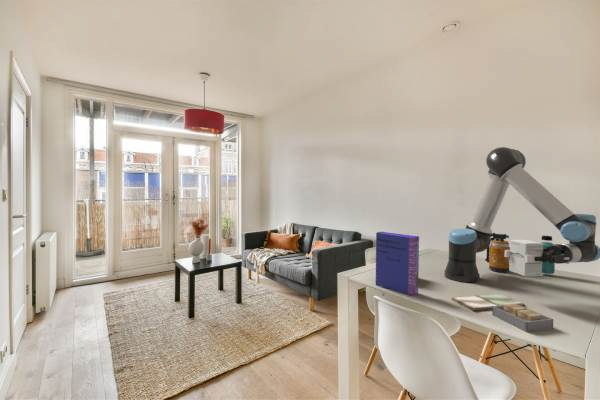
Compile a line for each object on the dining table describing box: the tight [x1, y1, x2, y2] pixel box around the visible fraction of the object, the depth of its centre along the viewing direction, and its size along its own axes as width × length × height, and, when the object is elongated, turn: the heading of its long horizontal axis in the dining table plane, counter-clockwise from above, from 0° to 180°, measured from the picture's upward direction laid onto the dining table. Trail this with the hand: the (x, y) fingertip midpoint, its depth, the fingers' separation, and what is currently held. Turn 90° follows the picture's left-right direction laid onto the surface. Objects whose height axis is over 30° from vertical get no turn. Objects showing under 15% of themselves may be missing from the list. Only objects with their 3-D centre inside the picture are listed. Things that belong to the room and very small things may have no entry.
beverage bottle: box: [540, 235, 556, 275], centre depth 144 cm, size 6×7×20 cm
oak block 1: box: [504, 304, 526, 317], centre depth 95 cm, size 4×4×4 cm
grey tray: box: [491, 304, 554, 333], centre depth 93 cm, size 12×10×4 cm
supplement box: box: [509, 239, 543, 277], centre depth 111 cm, size 7×7×13 cm
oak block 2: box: [518, 309, 541, 321], centre depth 91 cm, size 4×4×4 cm
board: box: [451, 293, 526, 313], centre depth 108 cm, size 11×22×2 cm, turn 102°
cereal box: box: [375, 231, 420, 297], centre depth 124 cm, size 17×5×24 cm, turn 42°
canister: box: [484, 232, 510, 273], centre depth 153 cm, size 9×11×20 cm
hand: (515, 256), depth 110 cm, fingers closed on supplement box, 8 cm apart
